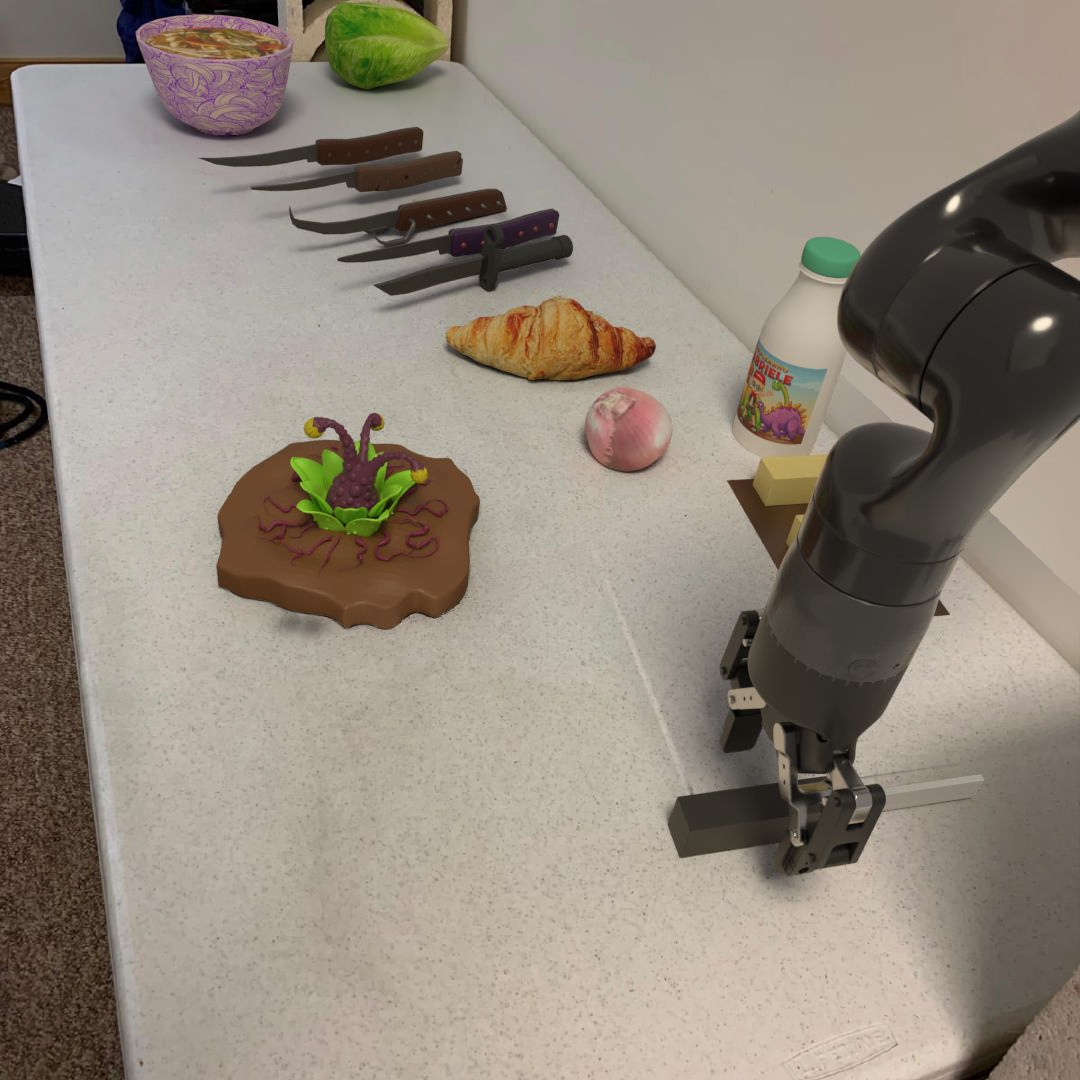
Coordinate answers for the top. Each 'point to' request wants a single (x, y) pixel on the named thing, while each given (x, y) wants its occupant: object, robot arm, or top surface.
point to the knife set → (419, 210)
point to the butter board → (776, 523)
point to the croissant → (550, 342)
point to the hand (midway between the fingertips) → (760, 804)
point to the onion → (627, 429)
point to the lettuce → (380, 43)
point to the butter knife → (778, 812)
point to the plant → (349, 529)
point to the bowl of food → (217, 70)
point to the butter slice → (787, 478)
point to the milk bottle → (797, 357)
